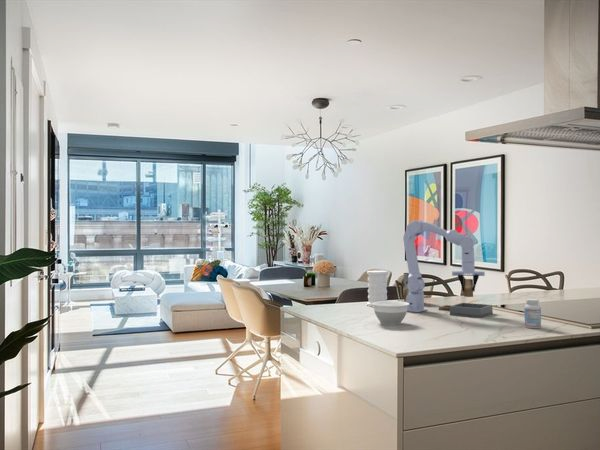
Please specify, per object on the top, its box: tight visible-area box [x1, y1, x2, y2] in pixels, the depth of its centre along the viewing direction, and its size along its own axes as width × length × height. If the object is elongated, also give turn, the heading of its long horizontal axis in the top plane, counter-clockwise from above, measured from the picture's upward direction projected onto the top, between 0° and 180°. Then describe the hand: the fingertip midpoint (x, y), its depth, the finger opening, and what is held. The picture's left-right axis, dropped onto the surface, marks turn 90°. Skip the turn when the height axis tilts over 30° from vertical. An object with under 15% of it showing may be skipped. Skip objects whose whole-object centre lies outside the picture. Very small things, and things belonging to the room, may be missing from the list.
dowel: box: [463, 278, 474, 298], centre depth 258 cm, size 4×4×8 cm
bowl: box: [372, 300, 410, 326], centre depth 234 cm, size 16×16×8 cm
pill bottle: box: [523, 298, 542, 330], centre depth 220 cm, size 6×6×11 cm
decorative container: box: [366, 270, 389, 307], centre depth 289 cm, size 12×12×18 cm
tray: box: [449, 302, 494, 319], centre depth 256 cm, size 15×15×4 cm
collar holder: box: [438, 304, 452, 312], centre depth 271 cm, size 8×8×2 cm
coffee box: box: [403, 272, 422, 302], centre depth 298 cm, size 9×6×16 cm
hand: (468, 291), depth 258 cm, fingers closed on dowel, 4 cm apart
